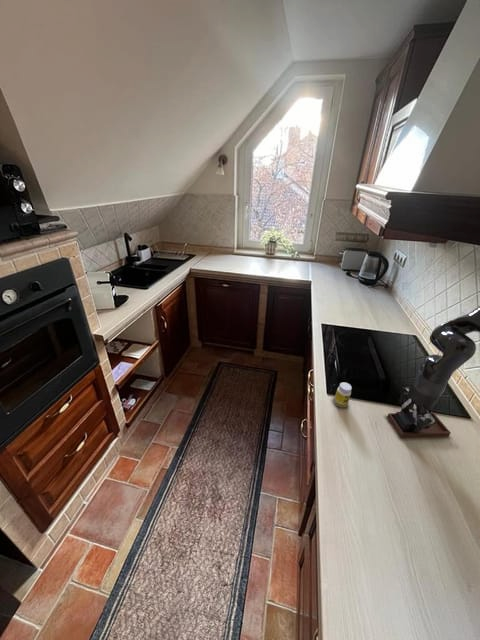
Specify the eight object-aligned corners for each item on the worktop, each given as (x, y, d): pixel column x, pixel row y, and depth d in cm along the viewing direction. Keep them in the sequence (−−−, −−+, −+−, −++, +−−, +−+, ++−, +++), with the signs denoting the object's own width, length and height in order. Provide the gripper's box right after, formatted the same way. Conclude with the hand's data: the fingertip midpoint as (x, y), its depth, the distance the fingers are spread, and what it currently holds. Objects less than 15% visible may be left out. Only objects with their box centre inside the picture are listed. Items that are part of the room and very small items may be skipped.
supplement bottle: (342, 409, 91) (348, 393, 87) (331, 401, 95) (336, 385, 90) (349, 403, 94) (355, 386, 90) (338, 395, 97) (343, 379, 93)
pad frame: (430, 416, 90) (433, 412, 89) (448, 436, 83) (451, 432, 82) (386, 417, 89) (388, 413, 88) (400, 438, 82) (402, 434, 81)
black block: (411, 418, 87) (415, 411, 86) (421, 430, 83) (425, 423, 81) (393, 418, 87) (396, 411, 85) (402, 431, 83) (405, 424, 81)
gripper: (458, 405, 70) (432, 443, 79) (423, 370, 83) (405, 406, 91) (432, 406, 70) (409, 443, 79) (401, 371, 82) (384, 407, 91)
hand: (407, 423), depth 85 cm, fingers closed on black block, 5 cm apart
